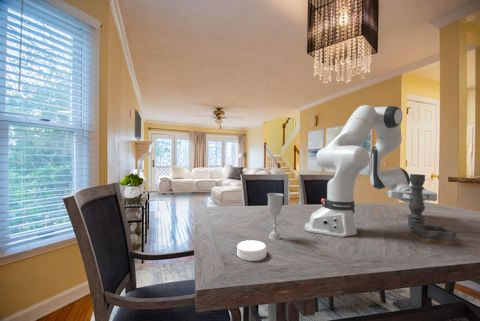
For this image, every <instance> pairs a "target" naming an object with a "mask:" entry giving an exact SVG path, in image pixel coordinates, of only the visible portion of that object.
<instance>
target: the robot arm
mask: <svg viewBox="0 0 480 321" xmlns="http://www.w3.org/2000/svg"><path fill="white" fill-rule="evenodd" d="M402 120H403V112H402V109H401V108H400V107H398V106H397V105H396V106H394V105H388V106H374V107H373V106H372V105H370V104H363V105H360V106H358V107H357V108H356V109H355V111H353V113H352V114H351V115H350V117H349V118H348V119H347V121H346V123H345V125H344V126H343V128H342V129H341V131H340V133H339V134H338V135H337V136H336V137H335V138H334V139H333V140H332V141H330V142H329V144H327V145H326V146H324V147H322V148H321V149H319V150H318V151H317V153H316V158H315V160H316V163H317V165H318V166H320V167H321V168H324V169H328V170H335V174H334V176H333V177H332V178H331V179H329V181H327V185H326V186H327V187H326V199H325V198H321V200H320V201H321V203H322V204H321V205H322V206H321V207H319V208H318V209H317V210H314V212H312V213H311V215H310V216H309V217H310V218H309V221H308V222H307V221H306V222H305V224H304V230H306V231H307V232H308V233H315V234H321V235H328V236H333V237H340V238H345V237H348V236H355V235H356V234H358V232H357V231H358V230H357V228H356V223H355V215H354V214H355V208H356V207H355V206H356V205H355V201H354V192H355V190H354V189H355V184H356V180H357V177H358V176H359V174H360V173H361V172H362V171H363V170H364V169H366V168H367V167H368V165H369V163H370V175H369V182H370V185H371V186H372V188H375V189H377V190H382V189H385V188H387V189H388V190H387V191H385V192H384V194H385V195H387V197H388V198H390V199H396V200H399V201H402V202H404V203H410V200H411V199H413V195H412V189H411V188H410V187H411V186H412V185H410V184H411V181H410V174H409V173H408V172H407V170H405V169H404V168H402V167H400V166H397V167H393V168H388V169H386V170H381V161H382V159H383V158H384V157H385V156H387V155H389V154H390V153H392V152H394V151H395V150H396V149H398V148H399V146H401V144H402V140H403V139H402V138H403V135H402V130H401V126H400V124H401V123H402ZM371 130H375V134H376V142H375V145H374V146H373V147H372V148H371V155H370V154H369V153H370V152H369V151H368V149H367V148H365V147H363V146H362V145H363V144H364V143H365V141H366V139H367V138H368V136H369V134H370V132H371ZM422 199H423V202H426V201H431V202H436V201H438V194H437V192H434V191H432V190H428V189H427V188H424V189H423V190H422Z"/></svg>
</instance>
